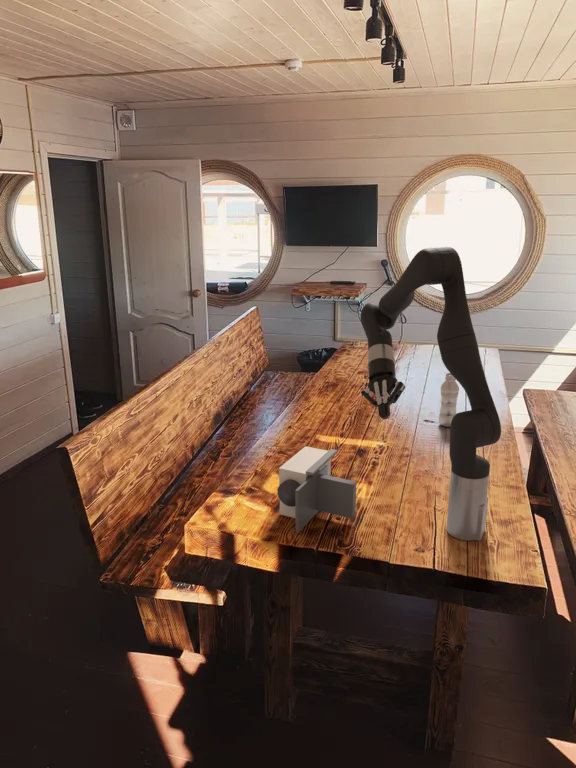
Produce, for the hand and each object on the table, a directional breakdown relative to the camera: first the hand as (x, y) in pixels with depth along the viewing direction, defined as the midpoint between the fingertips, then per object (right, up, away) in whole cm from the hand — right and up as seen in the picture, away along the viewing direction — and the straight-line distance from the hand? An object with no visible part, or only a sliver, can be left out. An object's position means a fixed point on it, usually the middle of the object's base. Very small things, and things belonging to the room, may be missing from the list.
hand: (384, 417), depth 166 cm
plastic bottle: (+33, -6, +61) cm, 70 cm away
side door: (-16, -28, -7) cm, 33 cm away
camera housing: (-21, -25, +4) cm, 33 cm away
